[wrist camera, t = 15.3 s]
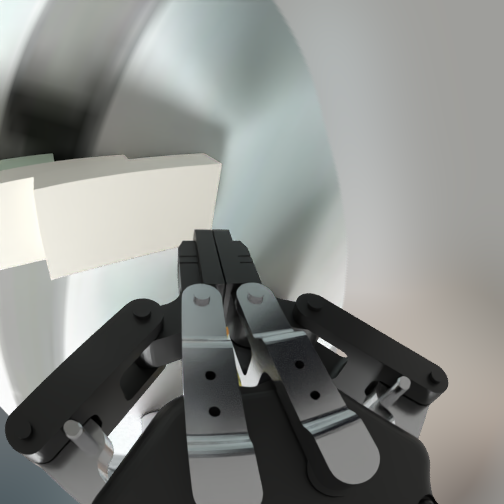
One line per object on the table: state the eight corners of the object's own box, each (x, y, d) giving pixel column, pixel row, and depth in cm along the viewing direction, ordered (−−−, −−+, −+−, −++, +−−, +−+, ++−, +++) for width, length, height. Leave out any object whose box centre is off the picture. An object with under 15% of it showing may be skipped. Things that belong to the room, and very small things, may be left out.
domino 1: (128, 242, 17) (-20, 274, 11) (119, 226, 18) (-18, 254, 12) (133, 165, 14) (-40, 193, 8) (123, 154, 15) (-33, 178, 9)
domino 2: (209, 239, 18) (51, 279, 12) (194, 224, 19) (47, 258, 13) (222, 163, 16) (33, 189, 10) (204, 153, 17) (33, 174, 11)
